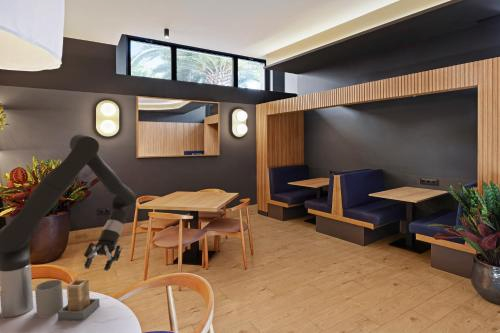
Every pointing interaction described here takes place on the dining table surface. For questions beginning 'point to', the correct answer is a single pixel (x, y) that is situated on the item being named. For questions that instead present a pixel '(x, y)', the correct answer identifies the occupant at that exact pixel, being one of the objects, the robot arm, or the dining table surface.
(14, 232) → the robot arm
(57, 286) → the cup
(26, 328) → the dining table surface
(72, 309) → the oak crate
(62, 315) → the tray
